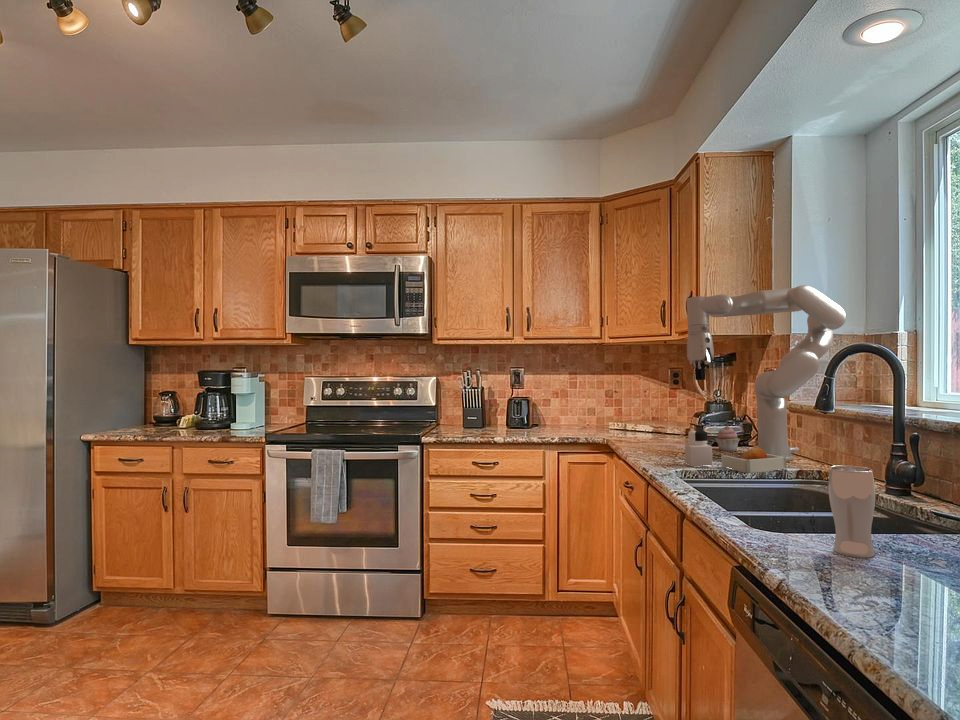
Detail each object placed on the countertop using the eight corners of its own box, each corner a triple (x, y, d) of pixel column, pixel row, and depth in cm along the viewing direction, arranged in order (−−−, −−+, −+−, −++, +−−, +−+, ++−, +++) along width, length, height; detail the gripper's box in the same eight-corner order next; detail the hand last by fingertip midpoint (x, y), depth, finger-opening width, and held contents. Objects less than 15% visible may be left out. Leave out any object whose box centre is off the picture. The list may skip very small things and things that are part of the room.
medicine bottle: (706, 463, 195) (705, 429, 196) (712, 467, 188) (711, 431, 189) (685, 463, 196) (684, 429, 196) (690, 467, 189) (689, 431, 189)
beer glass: (857, 561, 96) (853, 473, 96) (821, 549, 102) (818, 466, 103) (887, 556, 98) (883, 470, 98) (851, 544, 104) (847, 464, 105)
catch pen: (759, 464, 192) (758, 452, 192) (786, 469, 180) (786, 457, 180) (721, 467, 188) (721, 455, 188) (747, 473, 176) (747, 460, 176)
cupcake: (712, 451, 224) (711, 426, 224) (719, 448, 231) (718, 424, 232) (736, 452, 218) (735, 427, 218) (743, 449, 225) (742, 425, 226)
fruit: (775, 467, 177) (759, 445, 178) (751, 479, 179) (736, 457, 181) (774, 463, 184) (759, 442, 186) (751, 475, 187) (737, 453, 189)
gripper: (721, 328, 200) (722, 379, 200) (694, 331, 215) (696, 379, 214) (702, 328, 198) (704, 380, 198) (677, 331, 213) (679, 380, 212)
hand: (700, 379), depth 206 cm, fingers closed
